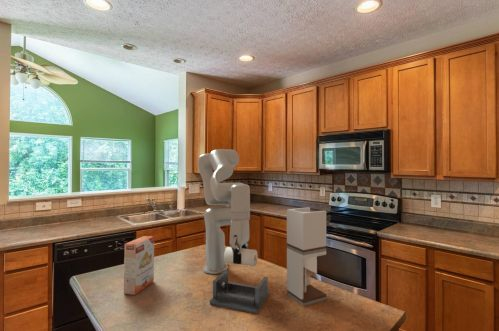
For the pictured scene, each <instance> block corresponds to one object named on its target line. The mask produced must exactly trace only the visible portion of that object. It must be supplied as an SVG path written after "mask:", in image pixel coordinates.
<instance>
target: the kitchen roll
mask: <svg viewBox="0 0 499 331" xmlns="http://www.w3.org/2000/svg"><path fill="white" fill-rule="evenodd" d="M236 248H237V249H239V247H236ZM240 254H241V264H240V265H243V266H244V265H245V266H250V267H251V266H252V267H255V266H257V263H258V250H257V249H250V248H247V249H244V248H241V252H240ZM224 261H225V263H228V264H229V263H230V264H234V263H233V251H232V248H231V246H227V247H225V252H224Z"/></svg>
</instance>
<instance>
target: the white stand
mask: <svg viewBox="0 0 499 331" xmlns="http://www.w3.org/2000/svg"><path fill="white" fill-rule="evenodd" d="M326 255H327V210H318V211H311V207H309V206H308V207H298V208H297V207H296V208H288V209H286V295H287V296H289V297H290V298H292V299H293V301H295V302H297V303H298V304H300V305H301V306H302V307H307V306H310V305H312V304H315V303H319V302H323V301H325V300H327V294H326V293H325V292H324V291H321V290H320V289H318V288H317V287H315V286H313V285H311V276H314V275H317V274H318V259H317V258H318V257H321V256H326Z"/></svg>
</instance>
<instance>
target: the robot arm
mask: <svg viewBox="0 0 499 331" xmlns="http://www.w3.org/2000/svg"><path fill="white" fill-rule="evenodd" d="M239 163H240V157H239V154H238V152H237V151H236V150H235V149H225V148H223V149H222V148H220V149H218V148H217V149H214V150H212V151H211V152H210V153H209V152H208V153H203V154H201V155H199V156H198V158H197V167H198V169H197V170H198V172H199V174H200V176H201V179H202V184H203V191H204V192H203V193H204V200H205V203H206V205H207V206H214V207H209V208H207V209H205V211H204V213H203V219H204V225H205V265H204V266H203V267H202V271H203V272H204V273H205V274H210V275H218V274H219V275H220V274H222V273H223V272H224V271H229V270H228V269H229V266H228V265H227V263H226V262H225V261H224V252H225V249H226V235H225V232H224V231H223V229H221V227H223V226H230V228H229V246H230V247H231V248H232V251H233V263H232V264H236V265H242V264H241V254H240V252H241V248H244V249H249V241H250V235H251V234H250V220H251V189H250V186H249V185H250V184H249V185H248V184H245V183H244V182H223V181H225V180H227V179H229V178H230V177H231V176H232V175H233V173H234V168H235V167H237V166H238V164H239ZM213 170H214V171H213ZM216 206H217V207H216ZM237 248H239V249H237Z"/></svg>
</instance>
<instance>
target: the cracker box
mask: <svg viewBox="0 0 499 331" xmlns="http://www.w3.org/2000/svg"><path fill="white" fill-rule="evenodd" d="M123 247H124V251H123V252H124V253H123V254H124V255H123V256H124V259H123V294H124V295H130V296H136V295H138V294H139V293H141V292H142V291H143V290H145V288H147V287H149V285H151V284H152V283H153V282H154V278H155V276H154V271H155V266H154V265H155V236H151V235H149V236H148V235H143V236H140V237H139V238H135V239H133V240H131V241H128V242H126V243H124V246H123Z"/></svg>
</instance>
